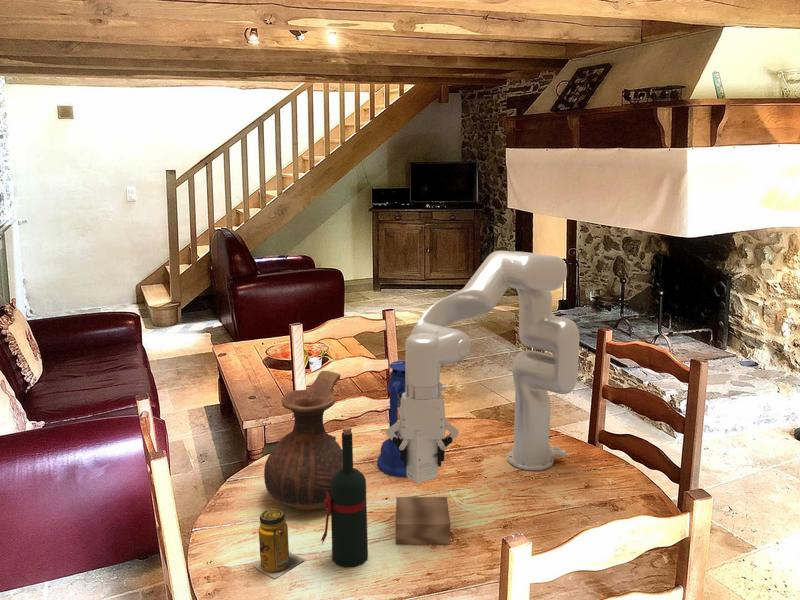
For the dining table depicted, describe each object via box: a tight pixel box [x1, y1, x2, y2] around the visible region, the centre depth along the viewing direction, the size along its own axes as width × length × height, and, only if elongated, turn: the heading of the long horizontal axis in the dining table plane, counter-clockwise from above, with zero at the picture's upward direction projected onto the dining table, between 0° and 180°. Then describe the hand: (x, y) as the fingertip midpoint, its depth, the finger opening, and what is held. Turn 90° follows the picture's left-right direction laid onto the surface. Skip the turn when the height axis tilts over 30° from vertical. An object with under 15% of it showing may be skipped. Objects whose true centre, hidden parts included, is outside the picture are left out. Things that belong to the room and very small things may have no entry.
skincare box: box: [406, 431, 439, 484], centre depth 161 cm, size 6×4×12 cm
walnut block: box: [395, 496, 451, 545], centre depth 165 cm, size 12×12×5 cm
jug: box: [263, 370, 343, 511], centre depth 176 cm, size 22×22×30 cm
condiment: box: [252, 508, 306, 579], centre depth 151 cm, size 7×8×12 cm
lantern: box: [376, 359, 408, 478], centre depth 194 cm, size 17×15×30 cm
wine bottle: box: [320, 425, 369, 568], centre depth 151 cm, size 8×10×30 cm
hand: (422, 463), depth 161 cm, fingers closed on skincare box, 7 cm apart
